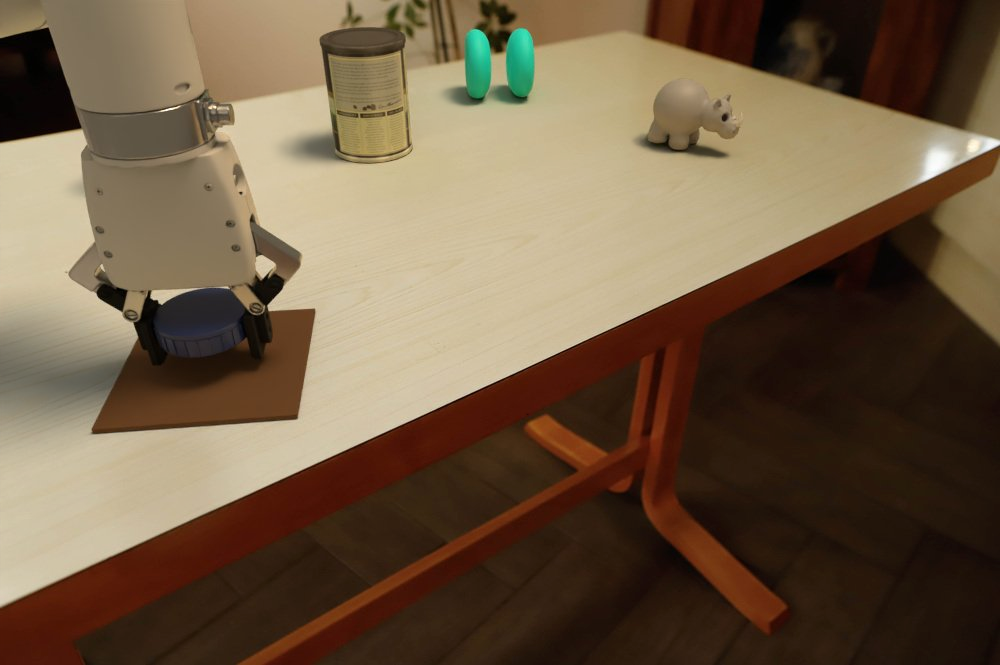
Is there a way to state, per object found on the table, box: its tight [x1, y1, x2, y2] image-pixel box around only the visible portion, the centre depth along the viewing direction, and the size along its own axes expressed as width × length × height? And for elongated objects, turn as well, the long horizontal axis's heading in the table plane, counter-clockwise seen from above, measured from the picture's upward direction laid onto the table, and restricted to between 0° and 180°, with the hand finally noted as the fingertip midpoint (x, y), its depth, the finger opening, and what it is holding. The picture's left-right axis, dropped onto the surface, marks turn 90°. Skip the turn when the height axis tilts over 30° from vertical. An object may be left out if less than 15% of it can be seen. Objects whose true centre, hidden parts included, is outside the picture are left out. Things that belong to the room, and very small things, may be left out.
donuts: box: [464, 27, 535, 99], centre depth 111 cm, size 10×10×10 cm
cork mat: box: [90, 308, 317, 434], centre depth 56 cm, size 14×14×1 cm
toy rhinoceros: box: [647, 77, 744, 151], centre depth 94 cm, size 7×12×8 cm, turn 51°
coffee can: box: [318, 26, 414, 164], centre depth 91 cm, size 10×10×14 cm
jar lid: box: [153, 287, 247, 358], centre depth 54 cm, size 7×7×2 cm
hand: (211, 350), depth 56 cm, fingers closed on jar lid, 6 cm apart
